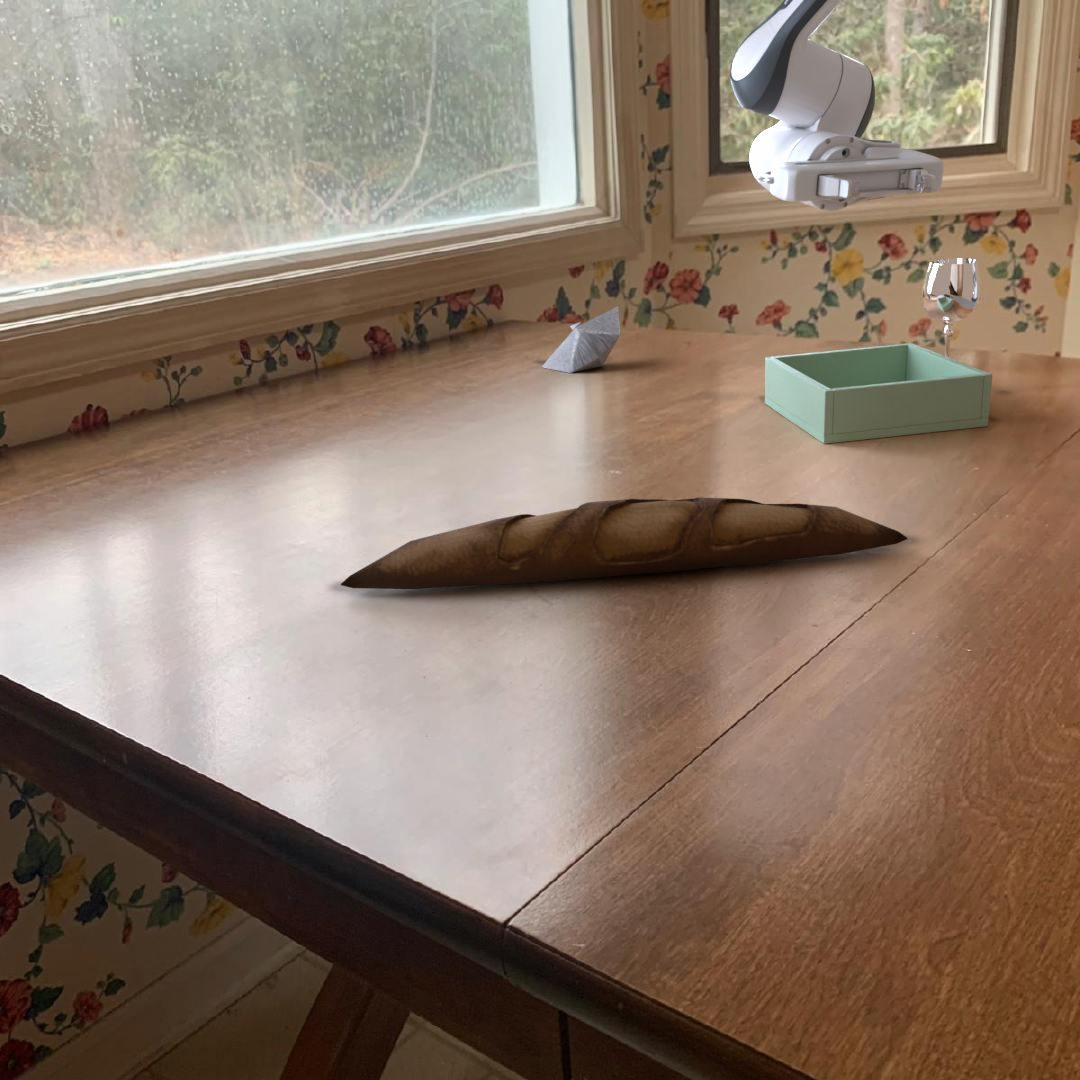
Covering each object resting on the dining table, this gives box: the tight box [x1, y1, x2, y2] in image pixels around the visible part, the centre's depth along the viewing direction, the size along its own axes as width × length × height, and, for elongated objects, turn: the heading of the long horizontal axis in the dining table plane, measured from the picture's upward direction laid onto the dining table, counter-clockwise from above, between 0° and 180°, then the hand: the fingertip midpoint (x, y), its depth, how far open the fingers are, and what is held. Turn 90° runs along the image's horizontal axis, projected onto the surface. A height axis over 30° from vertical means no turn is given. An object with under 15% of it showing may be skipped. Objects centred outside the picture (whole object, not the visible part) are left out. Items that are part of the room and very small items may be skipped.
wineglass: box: [921, 257, 982, 358], centre depth 116 cm, size 6×6×12 cm
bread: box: [340, 496, 909, 590], centre depth 72 cm, size 38×5×5 cm, turn 93°
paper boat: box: [541, 305, 621, 374], centre depth 133 cm, size 12×6×9 cm
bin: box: [764, 342, 993, 445], centre depth 104 cm, size 16×16×5 cm
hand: (892, 187), depth 121 cm, fingers open, 8 cm apart
